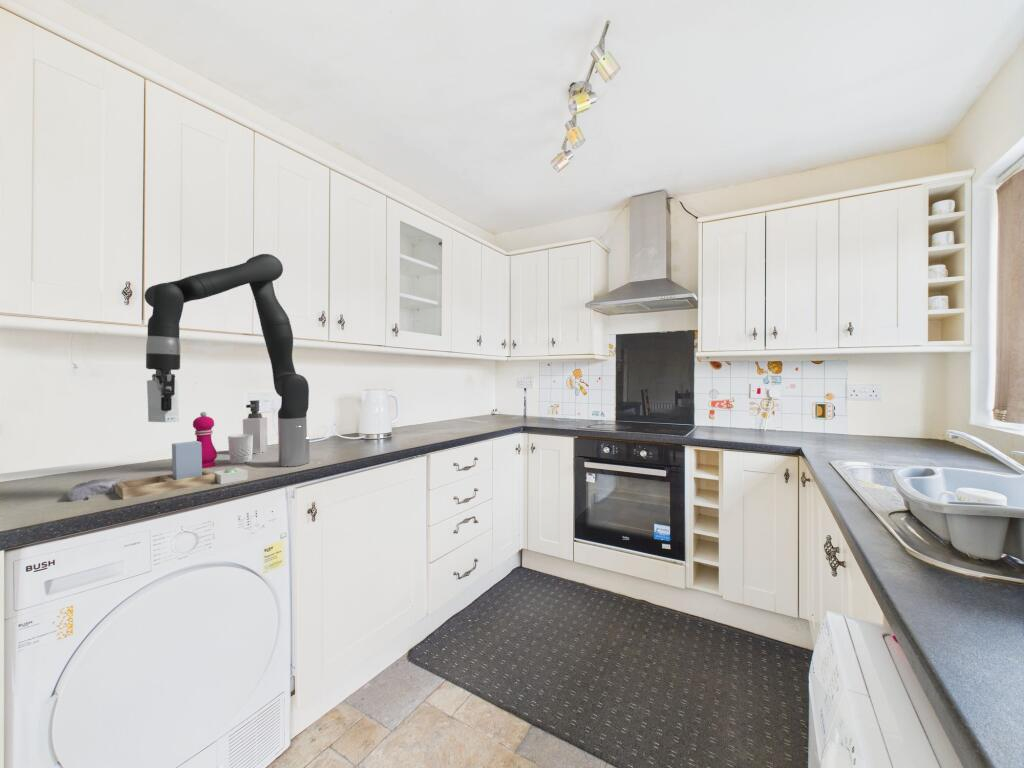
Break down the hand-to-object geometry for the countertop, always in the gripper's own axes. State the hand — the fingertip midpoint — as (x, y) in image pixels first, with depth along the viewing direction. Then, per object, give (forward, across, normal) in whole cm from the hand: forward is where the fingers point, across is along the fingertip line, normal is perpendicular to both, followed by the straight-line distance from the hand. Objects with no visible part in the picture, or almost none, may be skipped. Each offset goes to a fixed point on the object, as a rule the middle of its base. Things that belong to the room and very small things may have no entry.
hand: (162, 409), depth 118 cm
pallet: (+23, -4, 0) cm, 23 cm away
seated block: (+22, -3, -5) cm, 23 cm away
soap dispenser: (+22, +38, -37) cm, 58 cm away
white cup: (+22, +23, -28) cm, 42 cm away
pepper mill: (+23, +21, -16) cm, 34 cm away
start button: (+21, -8, -15) cm, 27 cm away
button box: (+22, -8, -15) cm, 28 cm away
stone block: (+24, +8, +13) cm, 28 cm away
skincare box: (+4, 0, 0) cm, 4 cm away
